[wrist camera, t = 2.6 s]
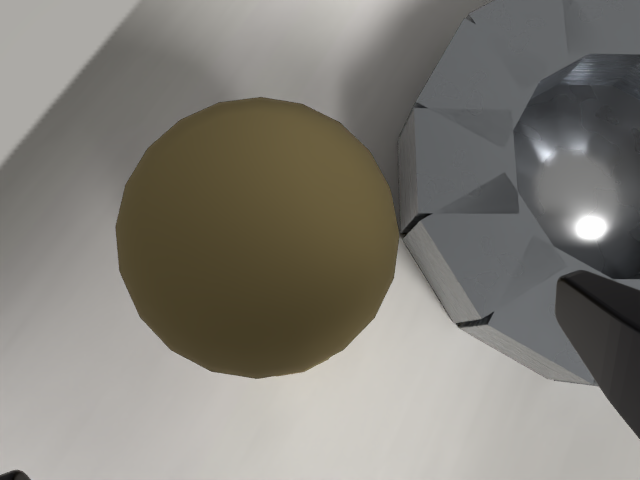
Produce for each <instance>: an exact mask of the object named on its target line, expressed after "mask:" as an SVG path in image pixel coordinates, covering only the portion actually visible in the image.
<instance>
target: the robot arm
mask: <svg viewBox="0 0 640 480" xmlns="http://www.w3.org/2000/svg"><path fill="white" fill-rule="evenodd" d="M555 316H556V319H557V322H558V324H559V326H560V327H561V329H562V330H563V332H564V333H565V335H566V336H567V338H568V339H569V341H570V343H571V344H572V346H573V347H574V349H575V350H576V352H577V353H578V355H579V356H580V358H581V359H582V361H583V363H584V364H585V366H586V367H587V369H588V370H589V372H590V373H591V375H592V376H593V378H594V379H595V381H596V382H597V384H598V386H599V387H600V389H601V390H602V391H603V393H604V394H605V396H606V397H607V399H608V400H609V401H610V403H611V404H612V405H613V407H614V408H615V409H616V410H617V412H618V413H619V414H620V415H621V417H622V418H623V419H624V420H625V422H626V423H627V424H628V425H629V427H630V428H631V429H632V430H633V431H634V433H635V434H636V435H637V436H638V438H639V439H640V290H638V289H635V288H633V287H630V286H627V285H624V284H622V283H619V282H616V281H613V280H611V279H608V278H605V277H603V276H600V275H597V274H594V273H592V272H589V271H586V270H577V271H574V272H571V273H568V274H565V275H563V276H561V277H559V279H558V280H557V284H556V299H555ZM0 480H31V479H30V478H29V477H28V476H27V475H26V474H25V473H24V472H23V471H20V470H13V471H10V472H8V473H5V474H2V475H0Z"/></svg>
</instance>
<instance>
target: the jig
mask: <svg viewBox="0 0 640 480" xmlns="http://www.w3.org/2000/svg"><path fill="white" fill-rule="evenodd" d="M398 169H399V201H400V233H408V234H407V235H406V236H405V237H404V238H403V241H404V243H405V244H406V246H407V248H408V249H409V251H410V252H411V254H412V256H413V257H414V259H415V261H416V262H417V264H418V265H419V267H420V269H421V270H422V272H423V274H424V275H425V277H426V279H427V280H428V282H429V283H430V285H431V287H432V288H433V290H434V292H435V293H436V295H437V296H438V298H439V300H440V301H441V303H442V305H443V306H444V308H445V309H446V311H447V313H448V314H449V316H450V318H451V319H452V321H453V322H454V323H460V322H462V324H461V326H460V327H459V328H460V329H461V330H463V331H465V332H467V333H468V334H470V335H472V336H474V337H475V338H477V339H479V340H480V341H482V342H484V343H486V344H487V345H489V346H491V347H493V348H494V349H496V350H498V351H500V352H501V353H503V354H505V355H507V356H508V357H510V358H512V359H514V360H515V361H517V362H519V363H521V364H522V365H524V366H526V367H528V368H529V369H531V370H533V371H535V372H536V373H538V374H540V375H542V376H543V377H545V378H547V379H553V380H554V381H561V382H569V383H577V384H585V385H593V386H598V384H597V382H596V381H595V379H594V378H593V376H592V375H591V373H590V372H589V370H588V369H587V367H586V366H585V364H584V363H583V361H582V359H581V358H580V356H579V355H578V353H577V352H576V350H575V349H574V347H573V346H572V344H571V343H570V341H569V339H568V338H567V336H566V335H565V333H564V332H563V330H562V329H561V327H560V326H559V324H558V322H557V319H556V316H555V299H556V284H557V280H558V279H559V277H561V276H563V275H565V274H568V273H571V272H574V271H577V270H586V271H589V272H592V273H594V274H597V275H600V276H603V277H605V278H608V279H611V280H613V281H616V282H619V283H622V284H624V285H627V286H630V287H633V288H635V289H638V290H640V0H494V1H492V2H490V3H488V4H486V5H485V6H483V7H481V8H479V9H477V10H475V11H473V12H471V13H469V15H468V16H467V18H466V19H465V18H464V19H463V21H462V23H461V25H460V26H459V28H458V30H457V31H456V33H455V35H454V37H453V38H452V40H451V42H450V43H449V45H448V47H447V49H446V50H445V52H444V54H443V55H442V57H441V59H440V61H439V62H438V64H437V66H436V67H435V69H434V71H433V73H432V74H431V76H430V78H429V80H428V81H427V83H426V85H425V86H424V88H423V90H422V92H421V93H420V95H419V97H418V98H417V100H416V102H415V104H414V106H413V108H412V110H411V112H410V115H409V117H408V119H407V121H406V123H405V125H404V127H403V129H402V131H401V133H400V138H399V140H398Z"/></svg>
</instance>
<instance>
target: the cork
mask: <svg viewBox="0 0 640 480" xmlns="http://www.w3.org/2000/svg"><path fill="white" fill-rule="evenodd" d="M116 238H117V249H118V260H119V271H120V273H121V276H122V278H123V280H124V283H125V285H126V287H127V289H128V292H129V294H130V296H131V298H132V300H133V303H134V305H135V307H136V309H137V312H138V314H139V316H140V318H141V319H142V320H143V321H144V322H145V323H146V324H147V325H148V326H149V327H150V328H151V329H152V331H153V332H154V333H155V334H156V335H157V336H158V337H159V338H160V339H161V340H162V341H163V342H164V343H165V344H166V345H167V346H168V348H169V349H170V350H172V351H174V352H175V353H177V354H179V355H181V356H183V357H185V358H187V359H189V360H191V361H193V362H194V363H196V364H198V365H200V366H202V367H204V368H206V369H208V370H210V371H212V372H218V373H224V374H230V375H237V376H243V377H249V378H255V379H259V378H265V377H271V376H282V375H288V374H294V373H300V372H305V371H307V370H309V369H310V368H312V367H314V366H316V365H318V364H320V363H322V362H324V361H326V360H328V359H329V358H330V357H331V356H333V355H335V354H337V353H338V352H340V351H342V350H344V349H345V348H346V347H347V346H348V345H349V344H350V343H351V342H352V340H353V339H354V338H355V337H356V336H357V335H358V334H359V333H360V332H361V331H362V330H363V329H364V328H365V327H366V326H367V325H368V324H369V323H370V322H371V321H372V320H373V319H374V318H375V316H376V314H377V312H378V310H379V308H380V306H381V303H382V301H383V299H384V297H385V295H386V293H387V291H388V289H389V287H390V285H391V283H392V281H393V279H394V273H395V265H396V258H397V250H398V242H399V230H398V225H397V220H396V215H395V209H394V204H393V199H392V194H391V190H390V187H389V185H388V183H387V182H386V180H385V178H384V176H383V174H382V173H381V171H380V169H379V167H378V165H377V163H376V162H375V160H374V158H373V156H372V154H371V153H370V151H369V150H368V149H367V148H366V147H365V146H364V145H363V144H362V143H361V142H360V141H359V140H358V139H357V138H355V137H354V136H353V135H352V134H351V133H350V132H349V131H348V130H347V129H346V128H345V127H344V126H343V125H342V124H341V123H340V122H338V121H336V120H334V119H332V118H330V117H328V116H326V115H324V114H322V113H320V112H317V111H315V110H313V109H311V108H309V107H307V106H305V105H303V104H300V103H293V102H287V101H281V100H275V99H269V98H263V97H258V98H250V99H242V100H235V101H227V102H219V103H217V104H215V105H212V106H210V107H208V108H206V109H203V110H201V111H199V112H197V113H194V114H192V115H190V116H188V117H186V118H183V119H181V120H179V121H178V122H177V123H176V124H175V125H174V126H173V127H171V128H170V129H169V130H168V131H167V132H166V133H165V134H163V135H162V136H161V137H160V138H159V139H158V140H157V141H155V142H154V143H153V144H152V145H151V146H150V147H149V148H148V149H147V150H146V152H145V154H144V155H143V157H142V159H141V160H140V162H139V163H138V165H137V167H136V168H135V170H134V172H133V173H132V175H131V177H130V178H129V180H128V181H127V183H126V185H125V189H124V193H123V197H122V202H121V206H120V210H119V214H118V218H117V223H116Z"/></svg>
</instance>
